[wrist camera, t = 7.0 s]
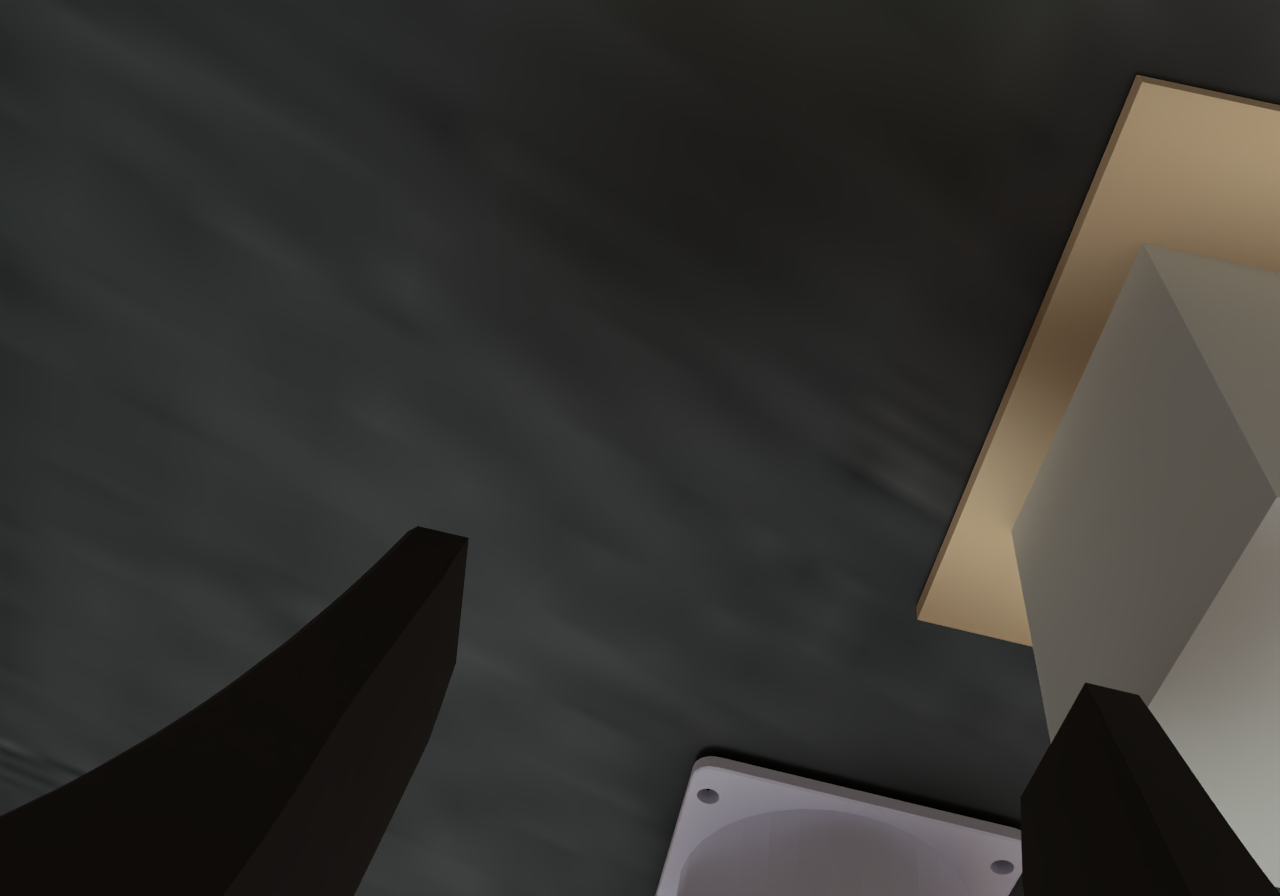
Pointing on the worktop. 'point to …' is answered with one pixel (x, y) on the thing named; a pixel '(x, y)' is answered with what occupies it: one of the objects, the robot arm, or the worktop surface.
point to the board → (1106, 311)
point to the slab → (1172, 529)
